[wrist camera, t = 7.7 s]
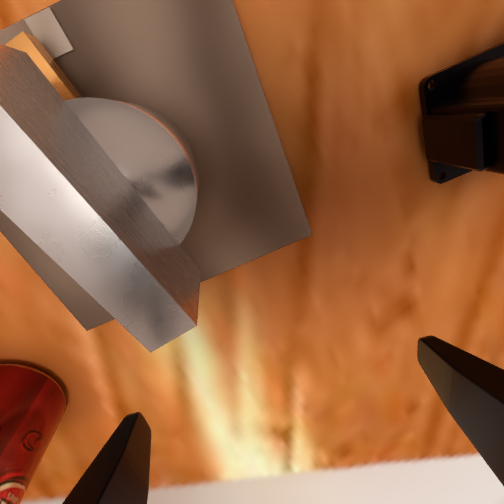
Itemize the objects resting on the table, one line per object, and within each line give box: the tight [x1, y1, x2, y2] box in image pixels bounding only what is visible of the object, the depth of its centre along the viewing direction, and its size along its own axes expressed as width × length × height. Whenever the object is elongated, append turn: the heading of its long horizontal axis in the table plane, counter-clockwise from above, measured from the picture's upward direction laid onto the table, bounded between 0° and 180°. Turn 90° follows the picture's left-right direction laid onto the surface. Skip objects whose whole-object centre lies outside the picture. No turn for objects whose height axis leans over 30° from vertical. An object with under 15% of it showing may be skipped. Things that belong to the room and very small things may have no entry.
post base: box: [0, 0, 312, 331], centre depth 17 cm, size 16×15×2 cm
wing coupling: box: [0, 31, 200, 352], centre depth 12 cm, size 12×7×8 cm, turn 31°
